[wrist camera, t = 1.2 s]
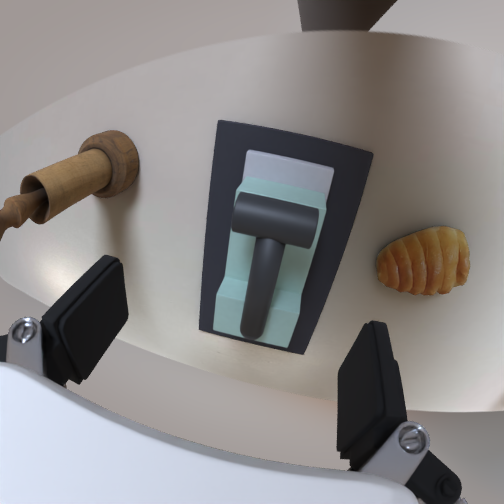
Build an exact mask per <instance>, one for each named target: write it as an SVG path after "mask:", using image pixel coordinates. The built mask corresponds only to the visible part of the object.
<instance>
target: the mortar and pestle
mask: <svg viewBox="0 0 504 504" xmlns="http://www.w3.org/2000/svg"><path fill="white" fill-rule="evenodd" d="M138 166H139V159H138V153H137V150H136V147H135V145H134V144H133V142H132V140H131V139H130V138H129V137H128V136H127V135H125V134H124V133H122V132H120V131H115V130H110V131H105V132H102V133H99V134H96V135H93V136H91V137H89V138H88V139H87V140H85V141H84V143H83V144H82V146H81V147H80V150H79V152H78V155H75V156H73V157H70V158H67V159H65V160H62V161H60V162H58V163H55V164H53V165H50V166H48V167H45V168H43V169H41V170H38V171H36V172H34V173H31V174H29V175H27V176H25V177H24V178H23V180H22V182H21V187H20V195H16V196H13V197H10V198H7V199H6V200H5V202H4V207H3V208H2V209H1V210H0V241H1V238H2V236H3V234H4V232H5V230H6V229H7V228H9V227H12V226H13V227H14V228H19V227H20V226H21V225H22V224H24V222H25V221H26V220H27V219H28V218H30V219H31V220H32V221H33V222H35V223H37V224H44V223H46V222H47V221H49V220H50V219H52V218H53V217H54V216H56V215H57V214H59V213H61V212H62V211H64V210H65V209H67V208H68V207H70V206H72V205H73V204H75V203H77V202H78V201H80V200H82V199H84V198H85V197H87V196H89V195H91V194H93V195H95V196H97V197H100V198H109V197H112V196H115V195H116V194H118V193H120V192H122V191H123V190H125V189H127V188H128V187H129V186H130V185H131V184H132V183H133V181H134V179H135V177H136V175H137V172H138Z"/></svg>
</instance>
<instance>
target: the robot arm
mask: <svg viewBox="0 0 504 504" xmlns="http://www.w3.org/2000/svg"><path fill="white" fill-rule="evenodd" d="M128 315H129V313H128V306H127V298H126V290H125V282H124V273H123V265H122V263H120V260H119V259H118V258H116V257H112V256H109V255H104V256H103V257H101V258H100V259H99V260H98V261H97V262H96V263H95V264H94V265H93V266H92V267H91V268H90V269H89V270H88V271H87V272H86V273H84V274H83V275H82V276H81V277H80V278H79V279H78V280H77V281H76V282H75V283H74V284H73V285H72V286H71V287H70V288H69V289H68V290H67V291H66V292H65V293H64V294H63V295H62V296H61V297H60V298H59V299H58V300H57V301H56V302H55V303H54V305H53V306H52V307H51V308H50V309H49V310H48V311H47V312H46V313H45V314H44V315H43V316H42V320H41V321H40V322H39V321H38V320H36V319H35V318H32V317H24V318H20V319H19V320H17V321H15V322H14V323H13V324H12V326H11V327H10V329H9V332H8V334H7V335H3V336H0V504H468V503H467V501H466V500H465V498H463V499H461V498H460V495H461V490H462V486H461V482H460V479H459V478H458V476H457V475H456V474H455V473H454V472H452V471H451V470H450V469H449V468H448V467H447V466H446V465H445V464H443V463H442V462H441V461H440V460H439V459H438V458H437V457H436V456H435V455H433V454H432V453H431V452H430V451H429V450H428V449H429V446H430V438H429V434H428V432H427V431H426V429H425V428H424V427H423V426H422V425H420V424H419V423H416V422H412V421H407V414H406V406H405V400H404V394H403V388H402V382H401V377H400V371H399V366H398V363H397V361H396V360H394V357H393V352H392V347H391V342H390V338H389V333H388V329H387V325H386V323H383V322H378V321H373V320H372V321H370V322H369V324H367V323H365V324H364V326H363V327H362V329H361V331H360V333H359V335H358V337H357V339H356V340H355V342H354V344H353V346H352V348H351V349H350V351H349V353H348V355H347V356H346V358H345V360H344V362H343V363H342V365H341V367H340V369H339V371H338V418H337V451H339V452H341V453H340V459H350V466H351V468H349V469H348V470H347V471H345V470H336V469H325V468H317V467H309V466H301V465H295V464H288V463H282V462H275V461H270V460H265V459H259V458H254V457H250V456H245V455H240V454H236V453H232V452H228V451H224V450H220V449H216V448H212V447H208V446H205V445H202V444H198V443H195V442H192V441H189V440H185V439H182V438H179V437H176V436H173V435H170V434H167V433H165V432H161V431H159V430H156V429H154V428H151V427H148V426H146V425H143V424H141V423H138V422H136V421H133V420H131V419H128V418H126V417H124V416H121V415H119V414H117V413H115V412H112V411H110V410H108V409H106V408H103V407H102V406H99V405H97V404H95V403H93V402H91V401H89V400H87V399H85V398H83V397H81V396H79V395H77V394H75V393H73V392H72V391H70V390H68V389H67V388H66V382H67V381H68V379H69V380H71V381H73V382H75V383H77V384H80V383H81V382H82V380H83V379H84V380H86V379H87V378H88V376H89V375H90V374H91V372H92V371H93V369H94V368H95V366H96V365H97V363H98V362H99V360H100V359H101V357H102V356H103V354H104V353H105V351H106V350H107V348H108V347H109V346H110V344H111V343H112V341H113V340H114V338H115V337H116V336H117V334H118V333H119V331H120V330H121V329H122V327H123V326H124V324H125V323H126V321H127V319H128Z"/></svg>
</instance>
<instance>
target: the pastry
mask: <svg viewBox="0 0 504 504" xmlns="http://www.w3.org/2000/svg"><path fill="white" fill-rule="evenodd" d="M469 256H470V253H469V247H468V243H467V240H466V237H465V235H464V233H463V232H462V231H460V230H458V229H454V228H450V227H447V226H437V227H430V228H427V229H423V230H421V231H418V232H415V233H412V234H410V235H408V236H404V237H402V238H400V239H397V240H395V241H393V242H391V243H390V244H389V245H388V246H386V247H385V248H384V249H382V250H381V251H380V253H379V255H378V256H377V259H376V268H377V276H378V280H379V281H380V282H382V283H383V284H384V285H385V286H386V287H389V288H393V289H396V290H397V291H399V292H409V293H411V294H413V295H417V294H422V295H434V294H435V293H436V292H438V293H439V294H447V293H449V292H450V291H451V289H452V288H453V287H457V286H460V285H461V286H462V285H464V284H465V283H466V281H467V278H468V274H469V269H470V261H469Z"/></svg>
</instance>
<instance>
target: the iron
mask: <svg viewBox="0 0 504 504" xmlns="http://www.w3.org/2000/svg"><path fill="white" fill-rule="evenodd" d="M333 174H334V169H333V168H332V167H328V166H324V165H320V164H315V163H311V162H307V161H303V160H298V159H294V158H289V157H285V156H280V155H275V154H270V153H265V152H260V151H254V150H248V151H247V154H246V160H245V167H244V173H243V180H242V183H241V184H240V186H239V187H238V188H237V190H236V196H235V203H234V210H233V214H232V221H231V232H230V240H229V247H228V255H227V263H226V270H225V277H224V279H223V281H222V283H221V286H220V288H219V290H218V292H217V295H216V304H215V314H214V324H213V330H216V331H219V332H223V333H227V334H231V335H235V336H239V337H243V338H246V339H248V340H255V341H259V342H264V343H268V344H272V345H277V346H281V347H286V348H287V347H288V345H289V342H290V339H291V337H292V334H293V331H294V328H295V325H296V323H297V320H298V317H299V314H300V304H301V294H302V291H303V288H304V285H305V281H306V278H307V275H308V272H309V269H310V265H311V262H312V259H313V255H314V252H315V249H316V245H317V242H318V238H319V235H320V232H321V228H322V225H323V221H324V217H325V214H326V201H327V197H328V194H329V190H330V186H331V182H332V178H333Z"/></svg>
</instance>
